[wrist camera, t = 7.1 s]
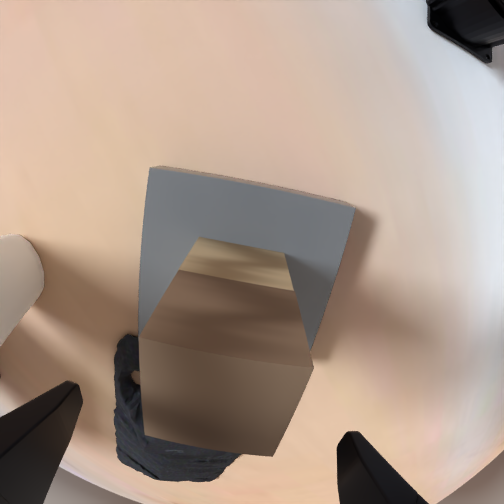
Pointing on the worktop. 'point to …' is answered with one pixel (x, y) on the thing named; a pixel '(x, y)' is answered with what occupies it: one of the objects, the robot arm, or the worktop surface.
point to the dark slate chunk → (150, 448)
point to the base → (241, 233)
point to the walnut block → (223, 364)
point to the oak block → (238, 263)
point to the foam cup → (17, 281)
